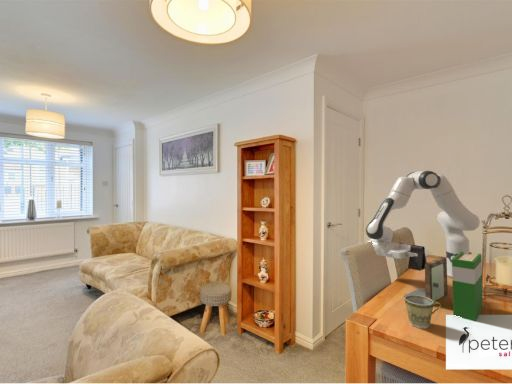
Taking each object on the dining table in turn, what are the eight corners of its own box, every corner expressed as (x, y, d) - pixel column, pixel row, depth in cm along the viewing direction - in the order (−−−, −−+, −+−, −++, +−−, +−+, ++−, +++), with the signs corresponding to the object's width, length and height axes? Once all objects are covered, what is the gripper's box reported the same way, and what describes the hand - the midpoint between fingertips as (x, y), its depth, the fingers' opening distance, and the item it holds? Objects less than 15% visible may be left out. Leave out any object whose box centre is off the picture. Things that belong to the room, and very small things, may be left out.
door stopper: (419, 270, 142) (419, 247, 141) (407, 268, 147) (407, 246, 146) (427, 267, 147) (427, 245, 147) (416, 265, 152) (415, 243, 152)
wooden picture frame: (442, 294, 138) (442, 256, 138) (447, 295, 136) (446, 257, 136) (425, 304, 127) (424, 263, 127) (430, 305, 125) (429, 264, 125)
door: (441, 294, 136) (440, 262, 136) (447, 296, 133) (447, 264, 133) (429, 302, 128) (428, 268, 128) (435, 304, 126) (434, 269, 125)
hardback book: (462, 302, 127) (460, 251, 127) (482, 307, 122) (481, 254, 122) (453, 315, 115) (451, 259, 115) (475, 321, 110) (474, 262, 110)
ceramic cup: (411, 330, 105) (410, 304, 104) (401, 318, 114) (400, 294, 114) (448, 332, 103) (447, 305, 102) (435, 319, 112) (434, 295, 112)
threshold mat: (419, 289, 146) (419, 288, 146) (442, 295, 137) (442, 294, 137) (403, 296, 136) (403, 295, 136) (428, 303, 127) (427, 302, 127)
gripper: (383, 247, 151) (409, 252, 140) (402, 242, 163) (427, 246, 152) (384, 258, 151) (409, 264, 140) (402, 253, 163) (428, 257, 152)
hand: (419, 254), depth 146 cm, fingers closed on door stopper
